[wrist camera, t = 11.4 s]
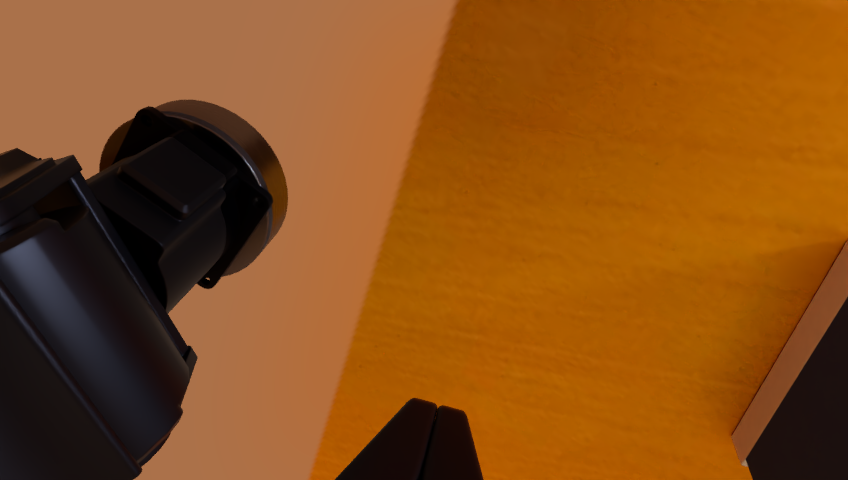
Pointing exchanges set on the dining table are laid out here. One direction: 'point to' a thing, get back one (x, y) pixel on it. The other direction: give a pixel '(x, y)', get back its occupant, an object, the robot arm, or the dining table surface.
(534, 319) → the dining table surface
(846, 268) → the navy stepped block
